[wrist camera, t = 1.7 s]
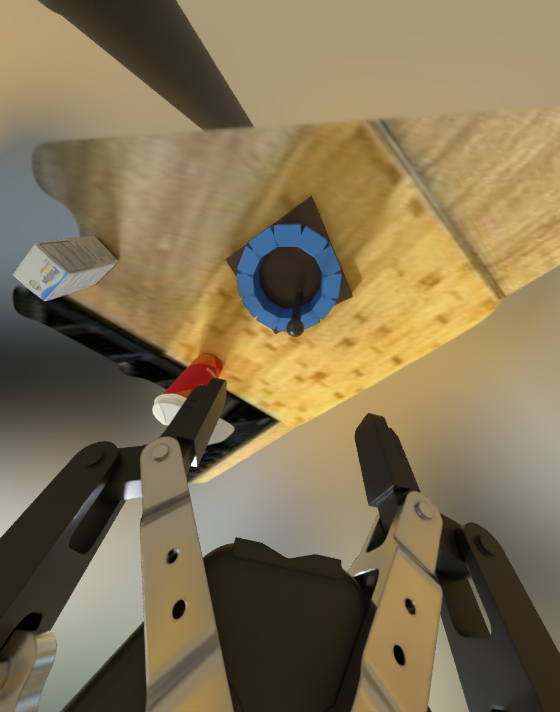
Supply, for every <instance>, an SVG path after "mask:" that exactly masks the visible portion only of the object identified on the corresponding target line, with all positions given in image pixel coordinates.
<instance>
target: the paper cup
mask: <svg viewBox="0 0 560 712" xmlns="http://www.w3.org/2000/svg"><path fill="white" fill-rule="evenodd" d="M221 370H222V364H221V362H220V360H219V359H218V358H217V357H215V356H213V355H211V354H202V355H200V356H199V357H197V358H196V359H195V360H194V361H193V362H192V364H191V365H190V366H189V367H188V368H187V369H186V370H185V371H184V372H183V373H182V374H181V375H180V376H179V377H178V378H177V379H176V380H175V382H174V383H173V384H172V385H171V386H170V387H169V388H168V389H167V390H166V391H165V392H164V393H163V394H162V395H160V396H158V397H157V398H156V399H155V403H154V406H153V414H154V416H155V417H156V418H157V420H159V421H160V422H161V423H162V424H164V425H166V424H167V425H169V424H170V423H171V421H172V420H173V418H174V417H175V415H176V414H177V412H178V411H179V409H180V408H181V407H182V405H183V403H184V402H185V400H186V399H187V397H188V396H189V394H190V393H191V391H192V390H193V389H195V388H196V387H198V386H199V385H205V386H207V385H208V383H209V382H210V380H211V378H212V377H214V378H218V377H219V374H220V372H221Z"/></svg>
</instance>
